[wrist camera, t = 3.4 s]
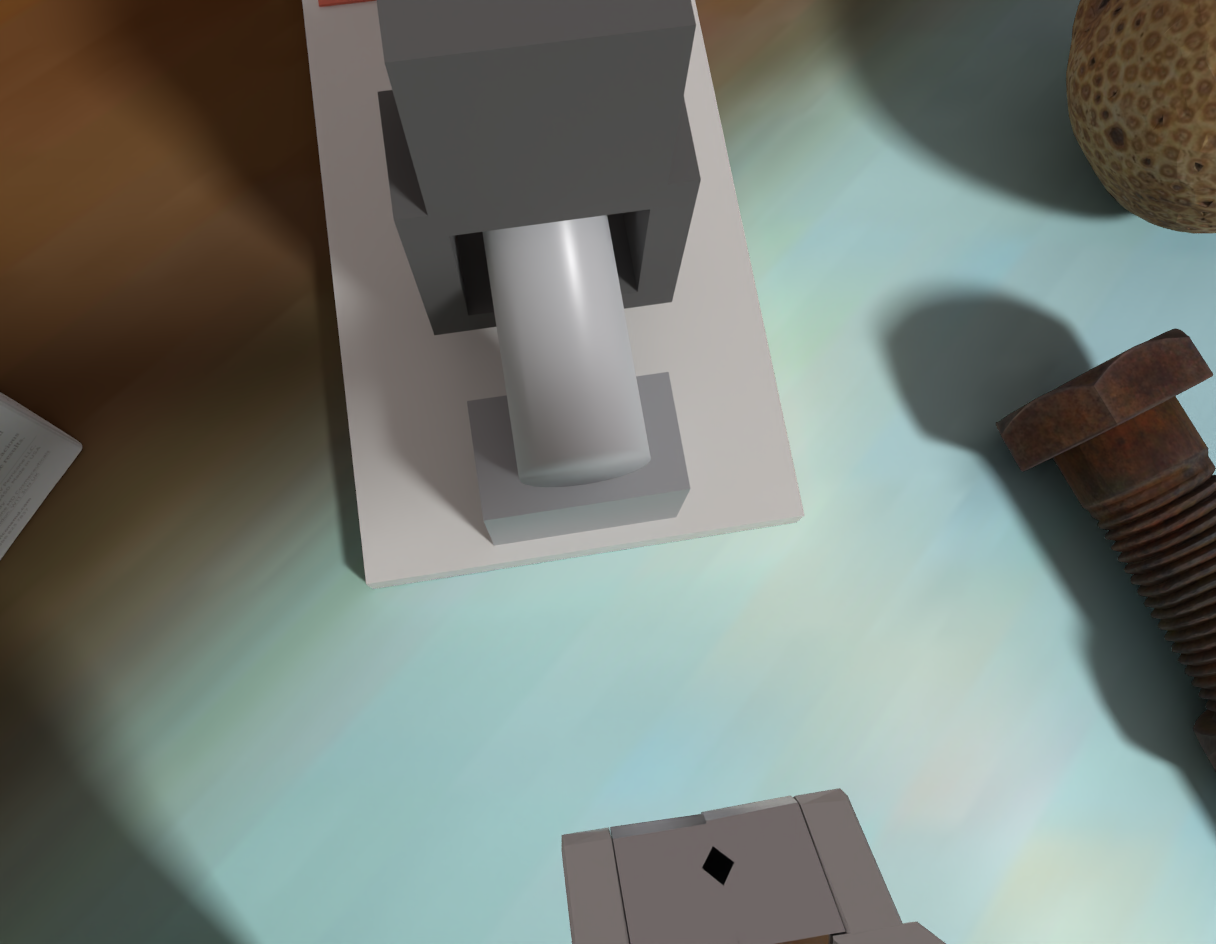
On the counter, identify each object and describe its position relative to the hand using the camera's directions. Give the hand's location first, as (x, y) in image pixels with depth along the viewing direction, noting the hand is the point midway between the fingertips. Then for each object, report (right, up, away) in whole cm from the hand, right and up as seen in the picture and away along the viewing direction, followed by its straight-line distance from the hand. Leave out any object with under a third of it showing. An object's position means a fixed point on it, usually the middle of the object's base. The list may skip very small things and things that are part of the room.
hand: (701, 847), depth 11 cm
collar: (-3, +10, +17) cm, 20 cm away
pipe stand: (-4, +15, +21) cm, 26 cm away
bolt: (+15, -1, +18) cm, 24 cm away
